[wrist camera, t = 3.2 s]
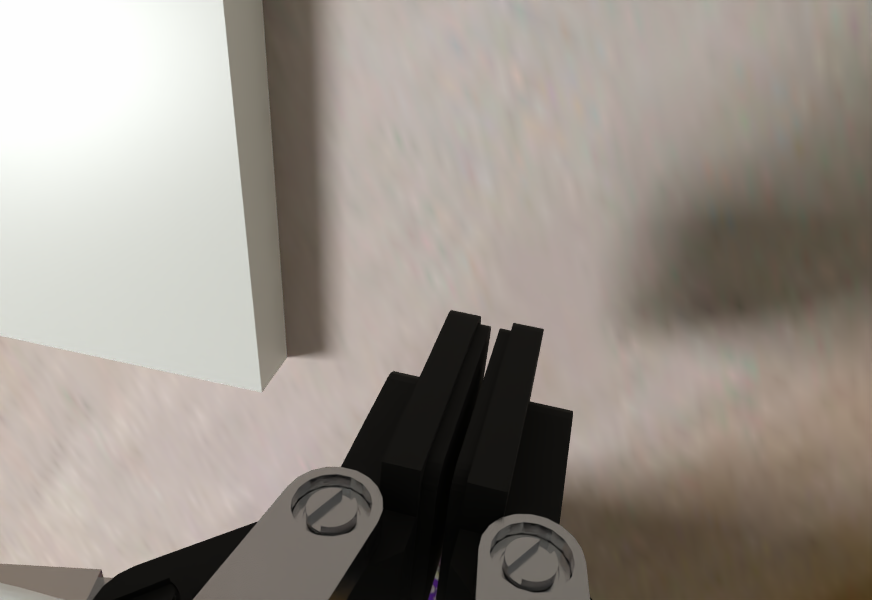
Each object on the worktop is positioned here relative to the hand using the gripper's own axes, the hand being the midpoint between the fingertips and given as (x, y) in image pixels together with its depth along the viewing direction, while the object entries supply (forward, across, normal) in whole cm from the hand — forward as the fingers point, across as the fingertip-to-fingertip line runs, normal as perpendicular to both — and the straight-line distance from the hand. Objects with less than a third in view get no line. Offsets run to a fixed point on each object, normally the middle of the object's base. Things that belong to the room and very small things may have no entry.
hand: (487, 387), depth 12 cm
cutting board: (+4, +14, -1) cm, 14 cm away
